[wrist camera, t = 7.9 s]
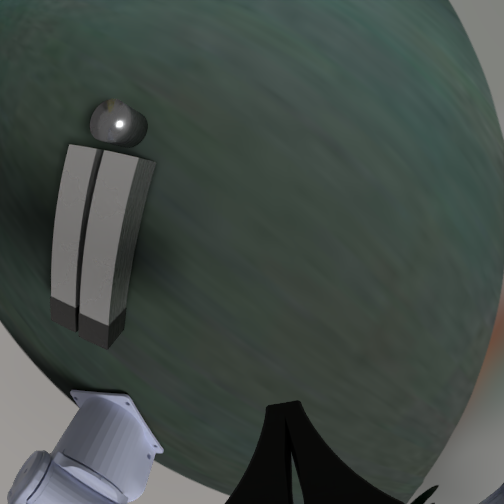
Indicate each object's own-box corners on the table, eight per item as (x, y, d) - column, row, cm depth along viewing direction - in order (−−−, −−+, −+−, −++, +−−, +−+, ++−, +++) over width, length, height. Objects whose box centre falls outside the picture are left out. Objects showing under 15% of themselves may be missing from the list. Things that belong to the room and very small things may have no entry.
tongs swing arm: (125, 154, 16) (103, 149, 13) (157, 162, 16) (139, 157, 13) (97, 318, 19) (78, 336, 16) (123, 329, 19) (107, 349, 16)
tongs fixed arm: (104, 108, 15) (79, 96, 12) (152, 114, 16) (133, 100, 12) (71, 304, 19) (49, 321, 15) (111, 322, 19) (91, 343, 16)
